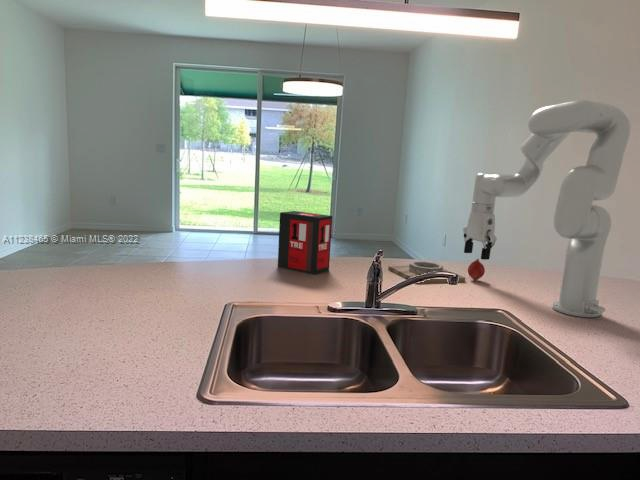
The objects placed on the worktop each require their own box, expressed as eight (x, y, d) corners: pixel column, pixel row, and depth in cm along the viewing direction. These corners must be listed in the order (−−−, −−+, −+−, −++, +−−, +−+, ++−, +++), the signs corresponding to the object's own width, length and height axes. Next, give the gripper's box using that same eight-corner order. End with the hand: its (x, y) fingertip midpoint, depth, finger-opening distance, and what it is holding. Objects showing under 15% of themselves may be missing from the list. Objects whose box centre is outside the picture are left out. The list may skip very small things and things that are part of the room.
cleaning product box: (277, 267, 183) (280, 212, 180) (291, 263, 191) (294, 210, 187) (315, 274, 175) (319, 217, 171) (328, 270, 182) (332, 215, 179)
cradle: (464, 281, 178) (466, 270, 177) (415, 283, 171) (416, 272, 170) (433, 268, 196) (434, 258, 195) (388, 269, 189) (389, 259, 188)
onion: (463, 278, 182) (465, 257, 180) (475, 278, 184) (477, 256, 183) (474, 283, 176) (476, 260, 175) (486, 282, 179) (489, 260, 177)
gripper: (508, 212, 169) (501, 261, 173) (476, 205, 185) (470, 250, 188) (489, 212, 167) (482, 262, 170) (459, 204, 183) (453, 250, 186)
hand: (476, 256), depth 179 cm, fingers open, 9 cm apart
